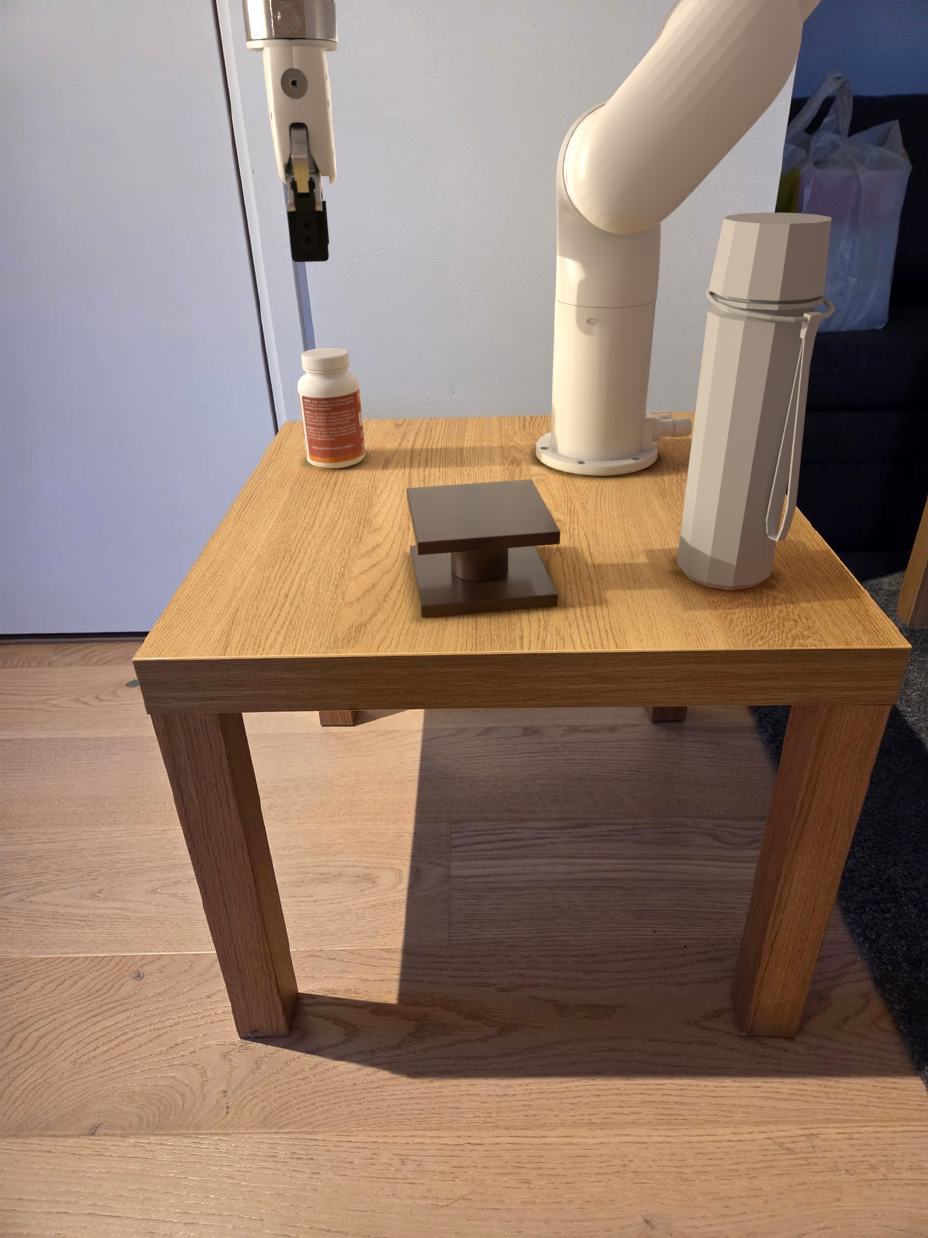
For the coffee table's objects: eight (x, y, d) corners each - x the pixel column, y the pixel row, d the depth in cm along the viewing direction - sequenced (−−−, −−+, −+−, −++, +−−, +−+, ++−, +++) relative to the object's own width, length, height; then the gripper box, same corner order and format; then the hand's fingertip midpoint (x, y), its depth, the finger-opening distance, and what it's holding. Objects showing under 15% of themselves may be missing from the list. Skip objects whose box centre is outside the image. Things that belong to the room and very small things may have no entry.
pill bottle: (376, 461, 88) (367, 353, 82) (322, 474, 85) (309, 363, 79) (349, 445, 92) (339, 342, 87) (297, 457, 90) (283, 351, 84)
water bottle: (652, 564, 67) (689, 216, 54) (731, 544, 70) (784, 208, 57) (729, 617, 60) (793, 230, 47) (814, 592, 62) (896, 221, 50)
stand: (530, 546, 70) (531, 478, 67) (557, 606, 62) (560, 531, 58) (410, 556, 69) (406, 487, 66) (421, 618, 60) (417, 542, 57)
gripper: (337, 19, 63) (354, 266, 71) (336, 37, 77) (350, 240, 86) (234, 18, 62) (264, 269, 71) (253, 37, 76) (276, 242, 85)
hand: (312, 253), depth 78 cm, fingers open, 9 cm apart
